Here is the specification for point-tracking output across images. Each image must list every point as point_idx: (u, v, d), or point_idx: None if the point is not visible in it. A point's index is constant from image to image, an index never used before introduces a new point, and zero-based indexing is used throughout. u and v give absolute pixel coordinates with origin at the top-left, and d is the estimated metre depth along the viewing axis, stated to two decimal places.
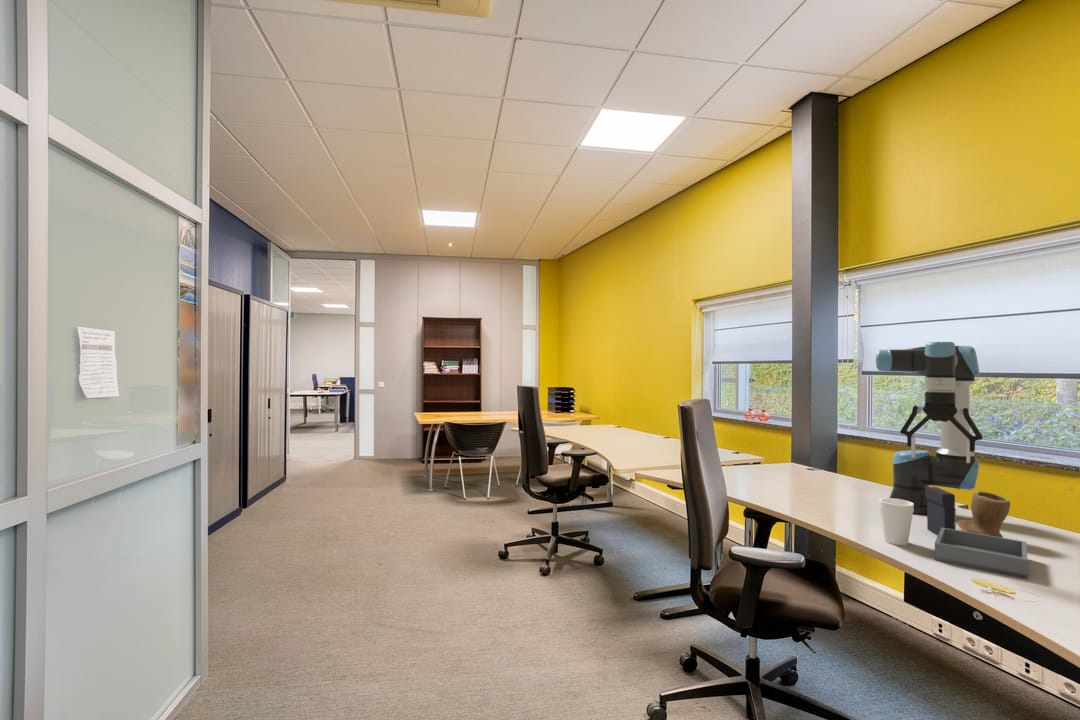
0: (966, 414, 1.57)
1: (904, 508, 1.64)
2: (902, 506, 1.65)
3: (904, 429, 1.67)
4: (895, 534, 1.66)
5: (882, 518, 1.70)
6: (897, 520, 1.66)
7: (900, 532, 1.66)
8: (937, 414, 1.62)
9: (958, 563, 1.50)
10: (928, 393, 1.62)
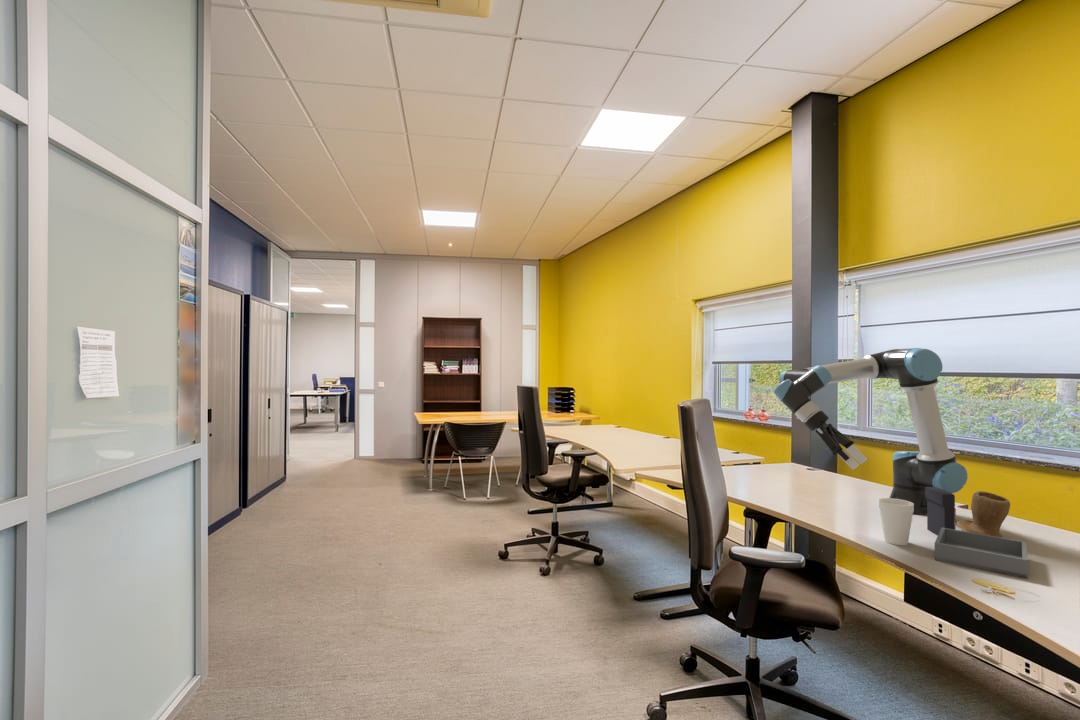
0: None
1: (904, 508, 1.64)
2: (902, 506, 1.65)
3: None
4: (895, 534, 1.66)
5: (882, 518, 1.70)
6: (897, 520, 1.66)
7: (900, 532, 1.66)
8: None
9: (958, 563, 1.50)
10: None
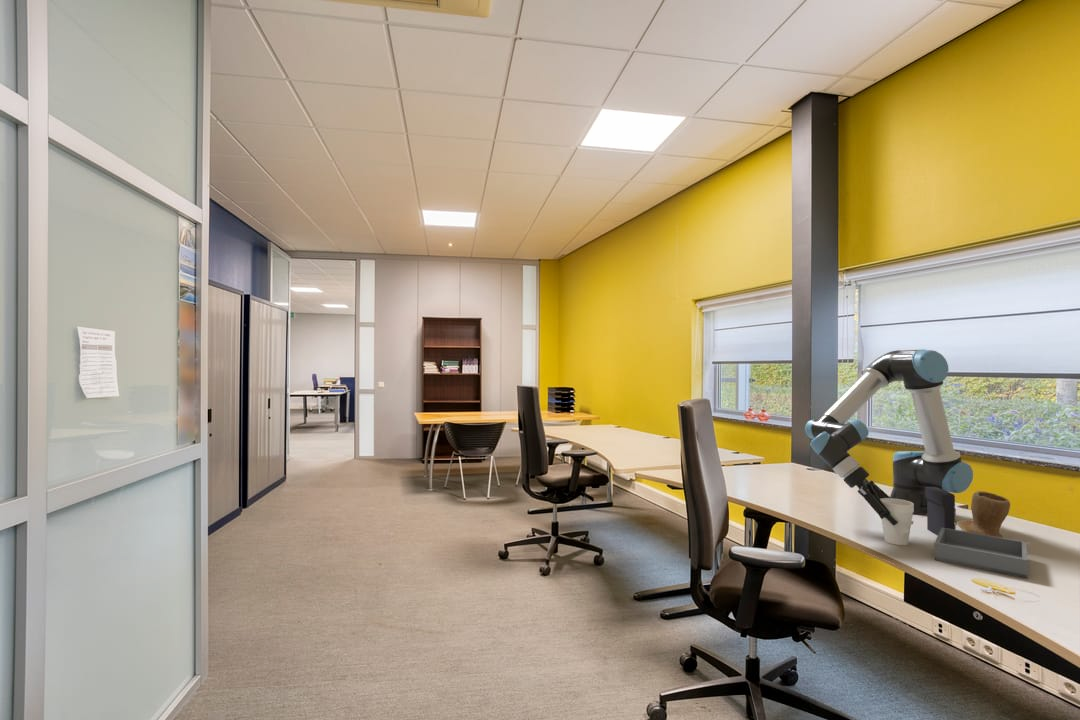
0: None
1: (904, 508, 1.65)
2: (902, 506, 1.65)
3: None
4: (895, 534, 1.66)
5: None
6: None
7: None
8: None
9: (958, 563, 1.50)
10: None
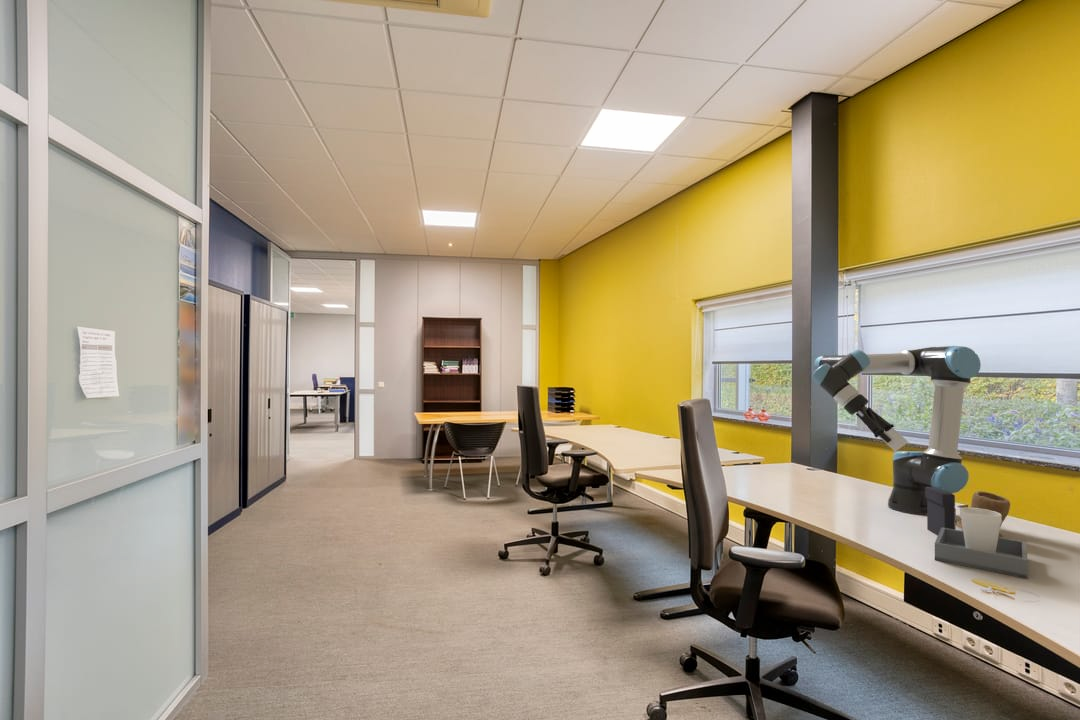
0: (860, 417, 1.79)
1: (992, 519, 1.50)
2: (989, 517, 1.50)
3: None
4: (981, 547, 1.52)
5: (965, 530, 1.55)
6: (984, 532, 1.51)
7: (987, 545, 1.51)
8: None
9: (958, 563, 1.50)
10: None
